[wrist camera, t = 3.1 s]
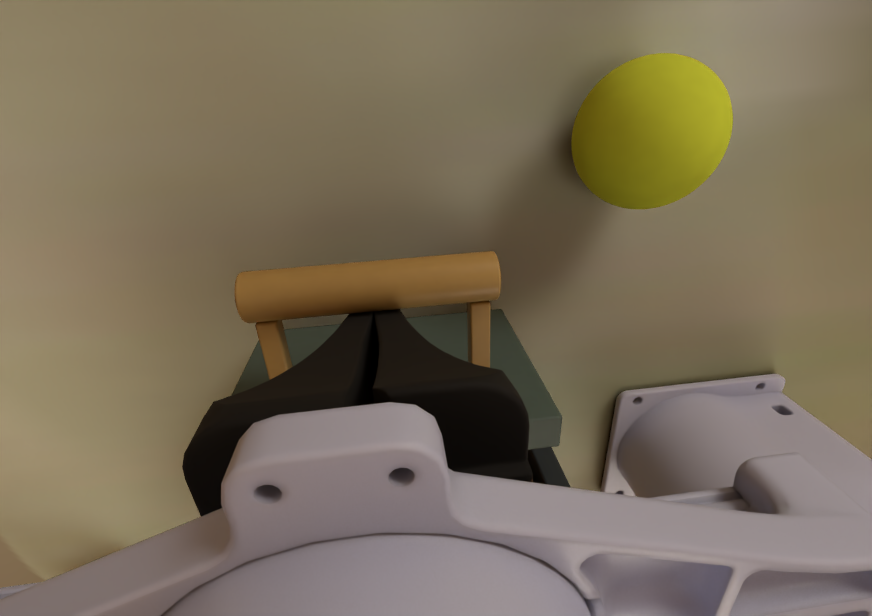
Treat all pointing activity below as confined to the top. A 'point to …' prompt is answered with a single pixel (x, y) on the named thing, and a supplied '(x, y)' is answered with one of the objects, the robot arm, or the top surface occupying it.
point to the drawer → (387, 290)
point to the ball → (652, 131)
